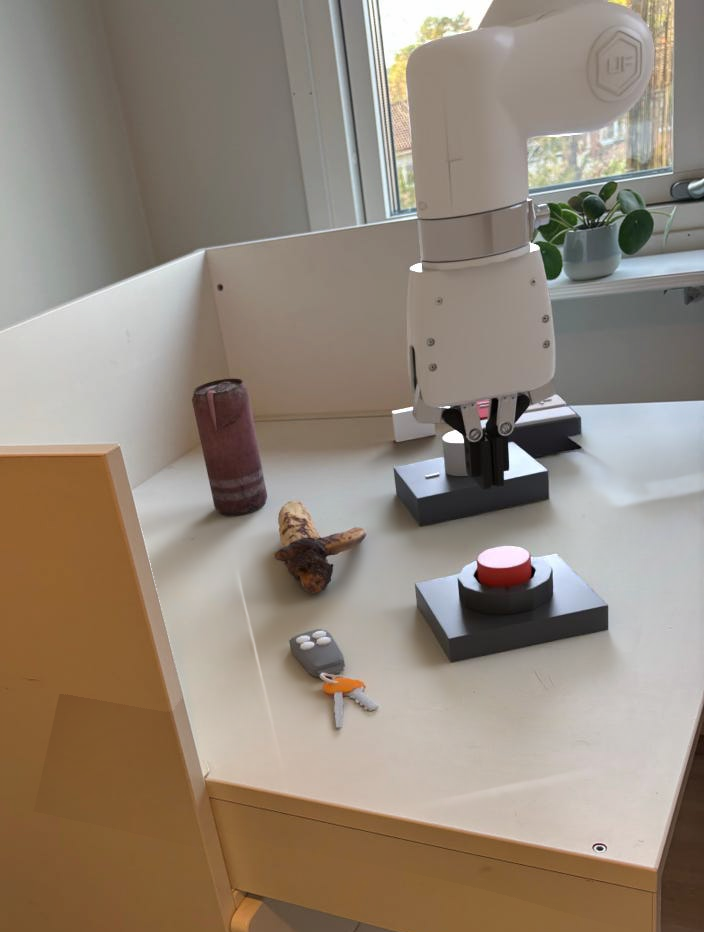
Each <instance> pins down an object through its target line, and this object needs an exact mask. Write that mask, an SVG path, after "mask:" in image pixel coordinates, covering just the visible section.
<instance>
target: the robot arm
mask: <svg viewBox="0 0 704 932" xmlns="http://www.w3.org/2000/svg"><path fill="white" fill-rule="evenodd" d="M653 38H654V37H653V35H652V33H651V30H650V28H649V26H648V24H647V22H646V21H645V20H644V19H643V18H642V16H640V14H639V13H637V12H636V11H635V10H633V9H632V8H630V7H628V6H626V5H624V4H620V3H617V2H613V1H609V0H492V1H491V2H490V5H489V7H488V8H487V11H486V12H485V14H484V16H483V18H482V19H481V21H480V23H479V24H478V27H477V29H472V30H468V31H462V32H459V33H454V34H450V35H446V36H442V37H437V38H434V39H431V40H428V41H426V42H423V43H422V44H420V45H418V46H416V47H415V48H414V49H413V51H412V52H411V53H410V55H409V57H408V59H407V63H406V67H405V89H406V101H407V113H408V124H409V137H410V148H411V160H412V172H413V183H414V185H413V186H414V195H415V207H416V218H417V231H418V243H419V245H418V246H419V255H420V263H416V264H413V265H412V266H410V267H409V271H408V272H409V274H408V280H407V293H406V294H407V297H406V351H407V352H406V353H407V354H406V356H407V371H408V372H407V374H408V381H409V386H410V389H411V391H412V393H414V398H413V404H412V405H413V406H412V407H413V411H412V415H413V417H414V418H415V419H416V420H417V421H418V422H419V423H429V424H435V425H436V424H437V425H442V424H443V425H448V426H449V427H451V428H452V429H453V430H454V431H455V430H456V431H457V432H459V433H460V434H462V435H463V436H464V448H465V463H466V471H467V474H468V476H469V477H470V478H473V479H474V480H475V481H476V483H477V484H478V485H479V486H480V487H481V488H482V489H483V490H486V489H490V488H491V487H492V486H496V487H501V486H504V471H508V470H509V447H508V435H509V434H511V433H512V431H513V429H514V424H515V423H516V422H517V421H518V419H519V418H520V417H521V416H522V414H523V413H524V412H525V411H526V409H527V408H528V407H529V406H531V405H535V404H537V403H539V402H541V401H544V400H546V399H548V398H550V397H552V396H554V394H555V393H556V392H557V387H556V383H555V380H554V375H555V372H556V339H555V328H554V318H553V309H552V303H551V302H552V301H551V296H550V290H549V284H548V280H547V274H546V269H545V264H544V260H543V256H542V253H541V248H540V246H539V245H537V244H534V243H531V241H533V240H534V233H535V230H536V229H538V228H539V227H540V226H546V225H548V224H550V219H551V211H550V207H549V205H548V204H547V203H545V204H540V205H538V204H536V203H535V204H534V203H533V200H532V199H531V198H530V191H529V190H530V186H529V184H530V183H529V161H528V160H529V157H528V156H529V155H528V154H529V153H528V143H529V142H530V141H531V140H532V139H534V138H541V137H551V138H552V137H564V136H565V137H566V136H575V135H583V134H588V133H593V132H596V131H599V130H602V129H604V128H606V127H608V126H610V125H613V124H614V123H615V122H617V121H619V120H620V119H622V118H623V117H624V116H625V115H626V114H627V113H629V112H630V111H631V110H632V109H633V108H634V106H635V105H636V104H638V102H639V100H640V99H641V98H642V96H643V94H644V93H645V91H646V89H647V87H648V85H649V83H650V81H651V78H652V75H653V72H654V66H655V44H654V39H653ZM556 394H557V393H556ZM487 399H489V405H488V416H487V423H486V427H484V428H483V429H482V426H481V422H480V417H479V413H478V408H477V404H476V402H477V401H482V400H487Z"/></svg>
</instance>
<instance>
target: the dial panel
mask: <svg viewBox="0 0 704 932" xmlns="http://www.w3.org/2000/svg"><path fill="white" fill-rule="evenodd" d="M508 447H509V470H508V471H504V486H501V487H496V486H492V487H491V488H490V489H486V490H483V489H482V488H481V487H480V486H479V485H478V484H477V483H476V481H475V480H474V479H473V478H470V477H469V476H453V475H449V474H447V473H446V472H445V464H444V456H440V457H435V458H430V459H426V460H421V461H418V462H417V461H416V462H412V463H408V464H403V465H398V466H393V468H392V469H393V477H394V484H395V485H394V486H395V494H396V495H397V496H398V498H399V499H400V500H401V502H402V503H403V504H404V506H405V507H406V509H407V510H408V511H409V513H410V515H411V516H412V517H413V519H414V520H415V521H416V523H417V524H418V525H419V527H424V525H425V526H428V525H433V523H434V524H438V523H437V522H439V523H442V522H443V523H444V522H447V520H448V521H453V520H456V519H462V518H466V517H472V516H475V515H480V514H481V515H482V514H485V513H490V512H494V511H500V510H504V509H509V508H512V507H518V506H523V505H527V504H532V503H536V502H542V501H546V500H550V483H549V482H550V481H549V480H550V479H549V478H550V477H549V470H548V469H547V468H546V467H544V466H543V465H542V464H541V463H540V462H538V461H537V460H536V459H535V458H534V457H531V456H530V455H528V454H527V453H526V452H525V451H524V450H522V449H521V448H520V447H519V446H517V445H516V444H515V443H514V442H510V443H508Z"/></svg>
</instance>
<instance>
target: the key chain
mask: <svg viewBox="0 0 704 932" xmlns="http://www.w3.org/2000/svg"><path fill="white" fill-rule="evenodd" d="M288 643H289V648H290V652H291V654H293V655H294V657H295V658H296V660H297V661H298V662H299V663H300V664H301V665H302V667H303V668H304V669H305V670H306V671H307V672H308V673H309V674H310V675H311V676H313V677H316V678H319V679H321V680H322V681H323V682H324V683H323V685H322V690H323V692H324V693H326V694H327V695H334V696H333V698H334V699H333V701H334V706H333V709H334V711H333V713H334V720H335V728H336V729H342V728H343V718H344V712H343V707H344V700H343V697H346V696H347V697H349V698H350V699H353V700H354V701H355V702H354V703H356V704H357V705H358V704H359V706H360V707H363V706H364V707H363V708H364V710H365V711H369V712H371V711H376V710H377V709H379V708H380V705H378V704H377V703H376V702H375V701H374V700H372V699H371V698H370V697H369V696H368V695H367V694H366V693H365V692H363V691H364V689H365V688H366V685H365V683H364V682H363V681H361V680H359V679H351V678H348V677H345V676H344V675H342V674H340V673H342V672H344V671H345V669H344V668H345V667H346V664H345V663H346V662H345V658H344V655H343V653H342V651H341V650H340V648H339V646H338V644H337V642H336V640H335V639H334V637H333V636H332V634H331V633H330V632H329V631H328V630H326V629H322V628H318V629H317V628H316V629H312V630H309V631H308V630H307V631H305V632H302V633H299V634H296V635H294V636H293V637H292V638H290V639H289V641H288ZM330 678H331V679H330Z"/></svg>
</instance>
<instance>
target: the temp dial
mask: <svg viewBox="0 0 704 932" xmlns="http://www.w3.org/2000/svg"><path fill="white" fill-rule="evenodd" d="M441 440H442V451H443V457H444V464H445V472H446V473H447V474H449V475H453V476H468V474H467V471H466V463H465V448H464V436H463V435H462V434H460V433H459V432H457V431H456V430H455V429H454V430H452V431H449V432H447V433H445V434H443V436H442V438H441Z"/></svg>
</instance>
